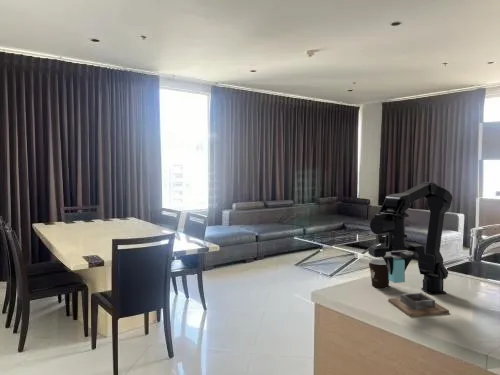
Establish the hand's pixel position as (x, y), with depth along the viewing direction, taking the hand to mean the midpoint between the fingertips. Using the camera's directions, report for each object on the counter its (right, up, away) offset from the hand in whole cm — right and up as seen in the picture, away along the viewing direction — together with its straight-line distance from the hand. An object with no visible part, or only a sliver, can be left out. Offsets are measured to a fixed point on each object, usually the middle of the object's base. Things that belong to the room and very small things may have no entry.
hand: (396, 273), depth 134 cm
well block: (+6, -11, -3) cm, 13 cm away
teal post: (0, -3, 0) cm, 2 cm away
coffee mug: (+1, -10, +21) cm, 23 cm away
